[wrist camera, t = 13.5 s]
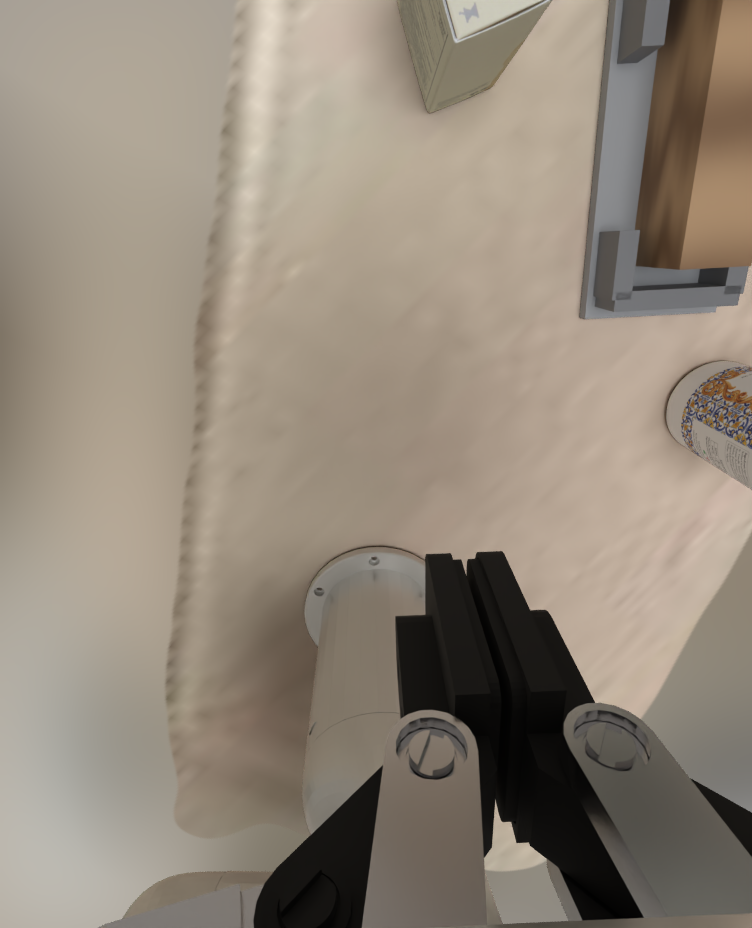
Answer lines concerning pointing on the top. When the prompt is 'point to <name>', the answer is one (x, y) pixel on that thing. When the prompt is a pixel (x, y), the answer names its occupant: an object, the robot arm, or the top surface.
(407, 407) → the top surface
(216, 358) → the top surface
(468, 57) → the skincare box
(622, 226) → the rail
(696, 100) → the slat
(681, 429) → the bath foam
